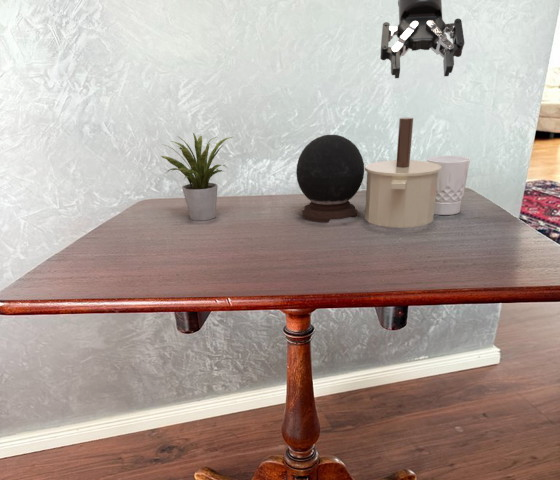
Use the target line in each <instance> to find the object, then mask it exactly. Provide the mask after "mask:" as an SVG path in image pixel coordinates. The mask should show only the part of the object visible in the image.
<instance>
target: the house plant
mask: <svg viewBox="0 0 560 480" xmlns="http://www.w3.org/2000/svg"><path fill="white" fill-rule="evenodd" d="M192 134H193V135H192V136H193V139H194V150H195V151H194V152H195V154H194V152H193V150H192V148H191V146H190V145H189V144H188V143H187V142H186V141H185V140H184V139H183V138H181V137H180V136H178V138H179V139H180V140H181V141H182V142H184V144H185V145H184V144H182V143H181V142H177V141H174V140H170V142H171V143H175V144H176V147H177V148H178V149H179V150H181V154H180V153H179V152H177V151H176V150H175V149H174V148H173V147H171V146H169V145H166V144H161V145H162V146H163V145H164V146H166V147H168V148H170V149H171V150H173V151H174V152H175V153H177V155H179V157H181V159H182V160H183V161H184V162H185V164H186V165H187V166H188V167H187V166H186V165H185V164H184V163H182V162H180V161H179V160H177V159H175V158H172V157H170V156H166V155H160V157H161V158H162V159H164V160H166V161H167V162H168V163H170V164H171V165H172V166H174V168H170V169H168V170H167V171H166V173H168V172H170V171H171V172H173V171H179V172H180V173H181V174H182V175H183V176H184V179H187V182H188V183H189V184H188V183H187V184H184V185H183V186H182V188H181V189H182V193H183V197H184V200H185V203H186V207H187V211H188V214H189V218H190V220H191V221H197V222H199V221H200V222H201V221H210V220H213V219H216V216H217V203H218V184H217V183H215V182H210V180H211V178H212V177H213V176H214V175H216V174H218V173H221V172H225V173H226V171H225V170H222V169H219V167H222V166H223V167H226V165H225V164H214V165H213V166H212V167H211V164H212V163H213V160H214V158H215V157H216V155H218V153H219V152H220V149H221V148H222V147H223V144H224V142H226V141H227V140H230V139H232V138H233V136H230V137H229V136H228V137H225V138H223V139H221V140H220V141H218V142H217V143H216V144H215V146H214V147H213V149H212V150H211V153H210V154H209V150H210V145H211V143H210V142H211V141H212V140H214V139H217V138H218V136H216V137H212V138H211V139H210V140H209V141H208V142H207V143H206V146H205V149H204V150H203V149H202V148H203V136H202V135H200V136H198V138H197V136H196V134H195V132H192ZM177 145H178V146H177ZM186 146H187V147H186ZM202 150H203V151H202ZM185 159H186V160H185Z"/></svg>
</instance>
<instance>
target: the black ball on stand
mask: <svg viewBox="0 0 560 480" xmlns="http://www.w3.org/2000/svg"><path fill="white" fill-rule="evenodd" d="M364 176H365V163H364V159H363V156H362V154H361V151H360V150H359V148H358V147H357V146H356V144H355V143H353V142H352V141H351V140H350V139H348V138H346V137H344V136H342V135H340V134H325V135H321V136H318V137H316V138H314V139H313V140H311V141H310V142H309V143H308V144H307V145H305V147H304V148H303V150H302V151H301V152H300V155H299V157H298V160H297V163H296V181H297V184H298V187H299V189H300V191H301V192H302V194H303V195H304V196H305V197H306V198H307V199H308V200H309V201H310V202H309V203H308V204H306V205H305V206H304V208H303V210H301V217H302V218H303V219H304V220H307V221H311V222H314V223H315V222H316V223H329V222H330V221H331V220H342V219H343V220H344V219H349V218H357V217H358V212H359V211H358V209H357V208H356V206H355V205H354V204H352V203H351V202H350V200H351V199H353V197H354V196H355V195H356V194H357V193H358V191H359V189H360V188H361V186H362V185H363V180H364Z"/></svg>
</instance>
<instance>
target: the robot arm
mask: <svg viewBox="0 0 560 480" xmlns="http://www.w3.org/2000/svg"><path fill="white" fill-rule="evenodd" d="M442 3H443V2H442V0H397V4H398V5H397V6H398V24H397V26H390V23H389V22H388V21H386V22H383V23H382V27H381V29H382V30H381V39H380V40H381V41H380V53H379V54H380V56H379V59H380V60H381V61H386V60H388V61H390V74H391V76H394V79H400V75H401V74H400V73H401V58H402V57H404V56H405V55H406V54H407V53H408V52H409V50H411V51H413V52H414V51H419V50H422V51H429V50H431V51H433V52H434V53H435V54H436V55H440V56H441V57H442V58H443V60H442V62H443V63H442V64H443V77H449V75H450V74H452V72H453V70H454V67H455V57H456V58H460V57H461V56H462V54H463V50H464V46H465V44H466V43H465V37H464V29H463V21H462V19H461V18H456V19H454V20H453V21H454V22H451V23H446V22H445V21H444V20H443V5H442ZM447 34H448V37H449V39H448V37H447ZM394 36H396V37H397V38H398V39H397V42H396V43H395V44H394V45H393V46H392V47H391V46H389V43H390V42H391V41H392V40H393V39H394ZM450 39H452V42H451V41H450Z"/></svg>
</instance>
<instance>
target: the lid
mask: <svg viewBox="0 0 560 480" xmlns="http://www.w3.org/2000/svg"><path fill="white" fill-rule="evenodd" d="M413 126H414V117H399V119H398V130H397V131H398V132H397V144H396V145H397V147H396V160H394V159H393V160H382V161H376V162H371V163H368V164H366V165H364V172H366V173H367V172H369V173H372V174H377V175H385V176H421V175H429V174H434V173H437V172H439V171H441V166H440V165H439V164H436V163H432V162H427V161H424V160H411V151H412V139H413V128H414V127H413Z"/></svg>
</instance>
